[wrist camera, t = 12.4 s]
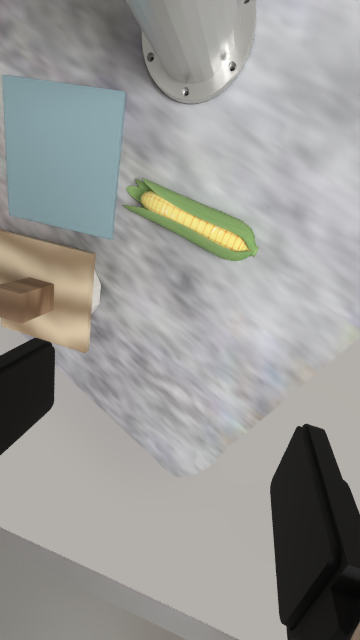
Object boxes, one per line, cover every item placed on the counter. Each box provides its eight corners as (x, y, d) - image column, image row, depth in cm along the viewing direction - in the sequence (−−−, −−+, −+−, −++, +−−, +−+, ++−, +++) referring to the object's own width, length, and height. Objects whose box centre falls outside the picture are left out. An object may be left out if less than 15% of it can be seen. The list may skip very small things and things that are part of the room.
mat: (4, 76, 36) (2, 74, 36) (126, 93, 33) (124, 91, 33) (11, 215, 43) (9, 215, 42) (112, 239, 40) (111, 239, 40)
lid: (1, 229, 38) (-50, 230, 31) (95, 253, 35) (61, 259, 29) (6, 324, 43) (-36, 341, 37) (88, 350, 41) (58, 373, 35)
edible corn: (246, 267, 37) (246, 273, 33) (121, 206, 38) (105, 204, 34) (266, 232, 35) (268, 233, 31) (133, 169, 36) (117, 161, 32)
